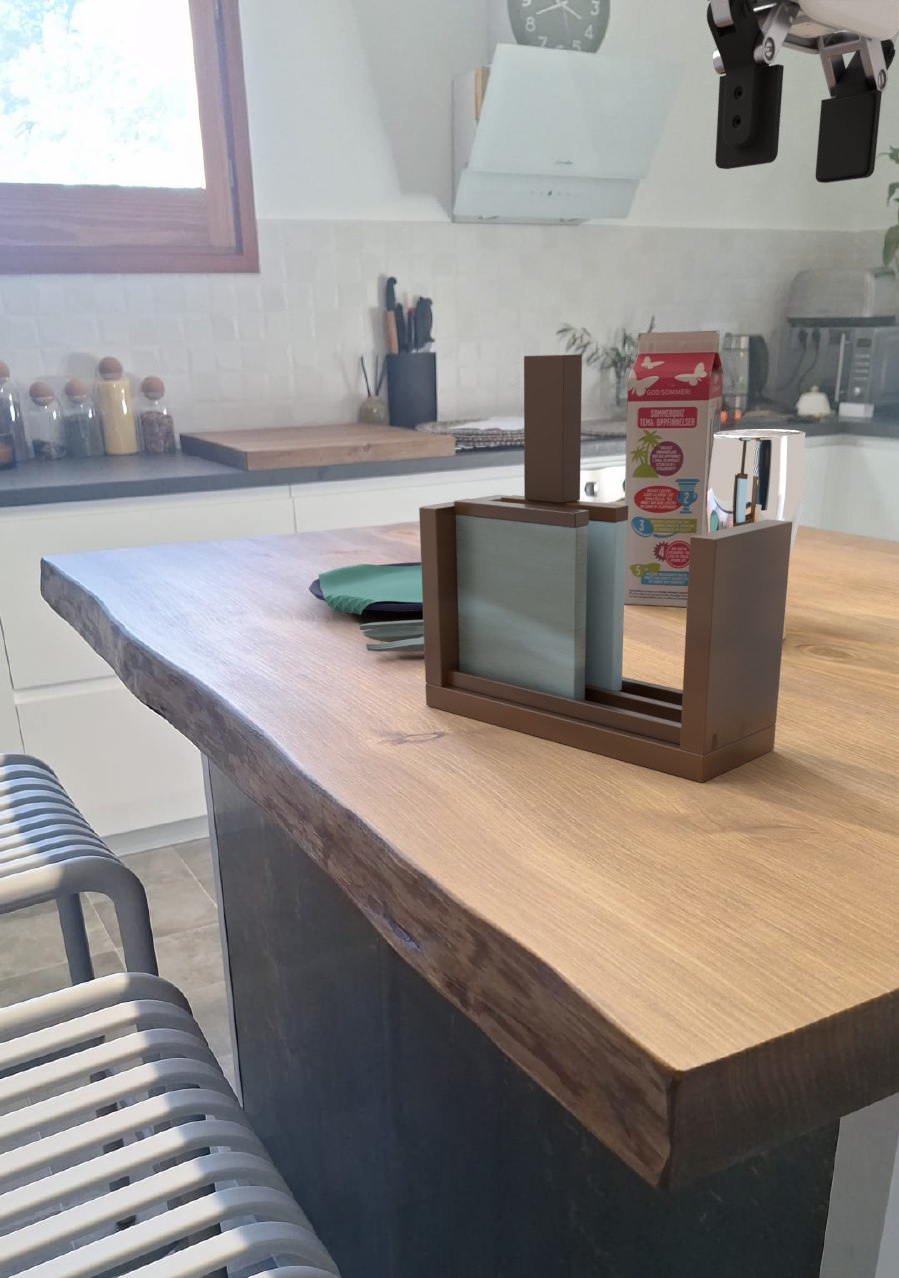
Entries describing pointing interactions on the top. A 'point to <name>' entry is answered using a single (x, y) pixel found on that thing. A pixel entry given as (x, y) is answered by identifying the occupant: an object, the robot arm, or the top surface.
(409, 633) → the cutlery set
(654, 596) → the juice carton
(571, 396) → the sash
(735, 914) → the top surface
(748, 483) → the beer glass
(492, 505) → the window frame
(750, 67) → the robot arm
